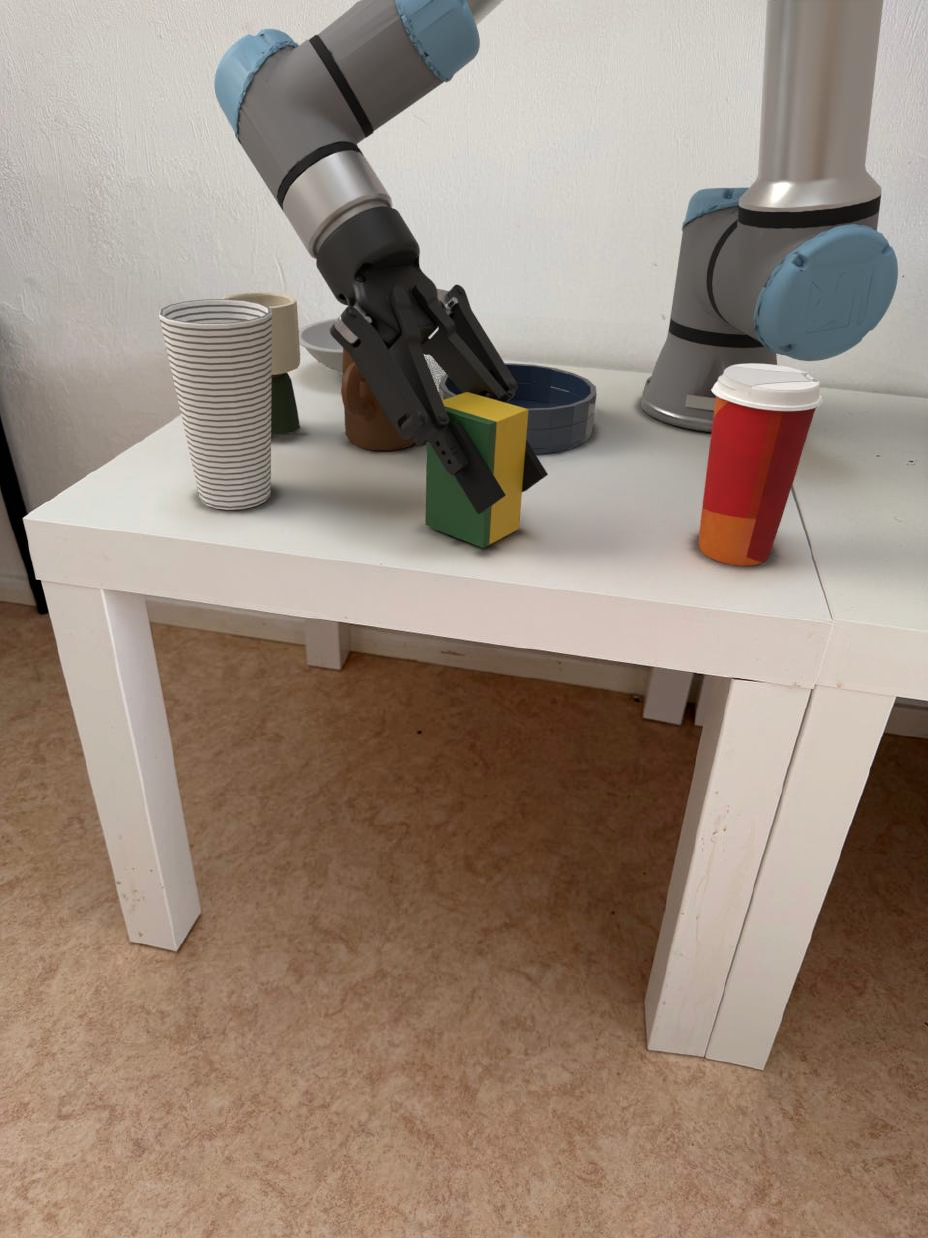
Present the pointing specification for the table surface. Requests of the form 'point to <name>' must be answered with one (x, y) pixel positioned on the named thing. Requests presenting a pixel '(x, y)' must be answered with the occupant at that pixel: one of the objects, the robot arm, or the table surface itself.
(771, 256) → the robot arm
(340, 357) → the dish
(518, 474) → the sponge
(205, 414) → the cup
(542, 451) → the bowl
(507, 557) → the table surface
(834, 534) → the table surface
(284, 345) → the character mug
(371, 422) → the mug
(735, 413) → the paper cup
